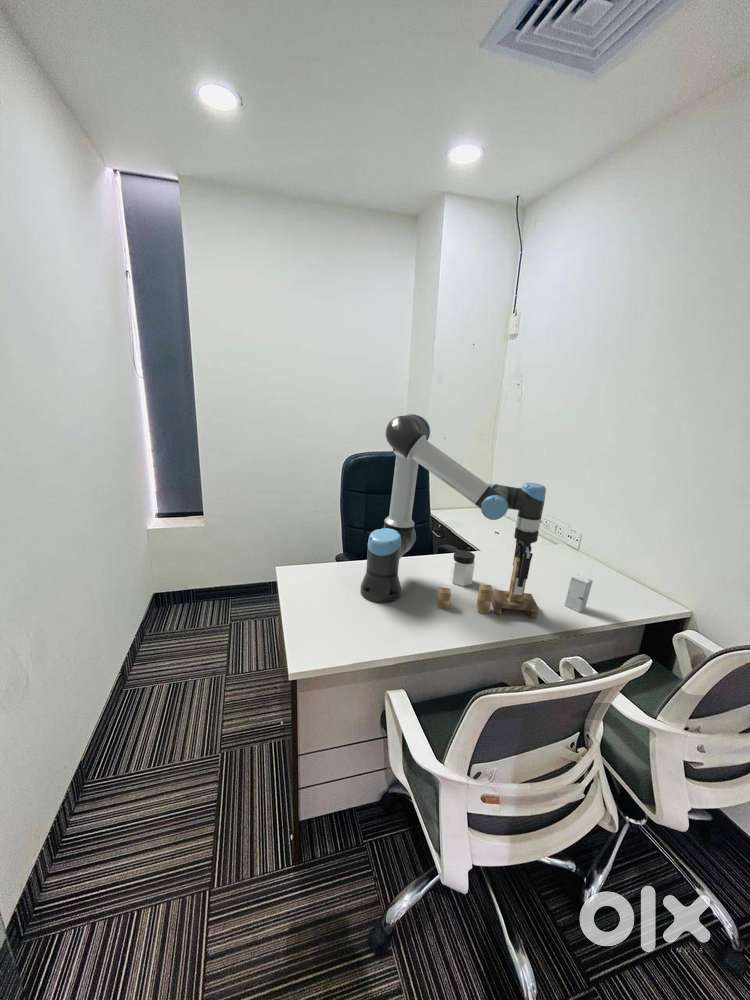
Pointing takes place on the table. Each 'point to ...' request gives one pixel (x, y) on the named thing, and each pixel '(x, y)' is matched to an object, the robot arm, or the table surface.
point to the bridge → (513, 603)
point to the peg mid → (484, 598)
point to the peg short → (444, 598)
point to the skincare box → (578, 592)
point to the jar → (462, 568)
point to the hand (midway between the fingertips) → (516, 590)
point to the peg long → (511, 594)
